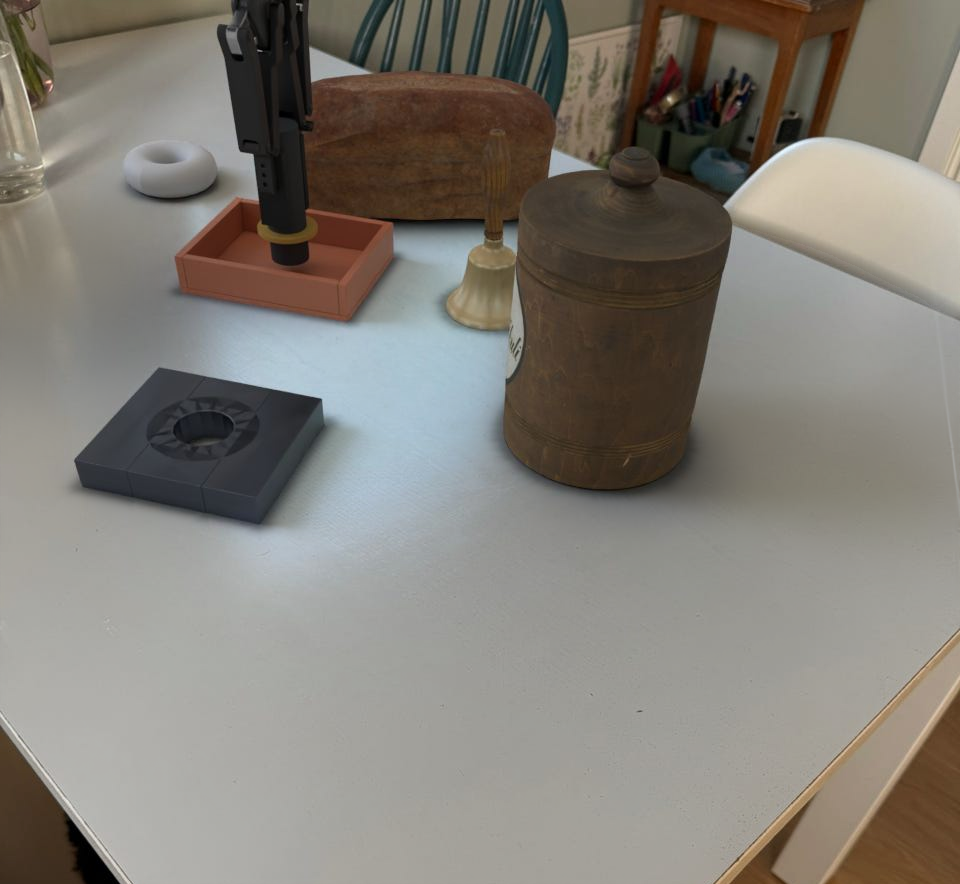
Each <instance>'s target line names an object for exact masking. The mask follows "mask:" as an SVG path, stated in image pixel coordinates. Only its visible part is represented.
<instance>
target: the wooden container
mask: <svg viewBox="0 0 960 884" xmlns="http://www.w3.org/2000/svg"><path fill="white" fill-rule="evenodd" d="M732 233H733V220H732V218H731V215H730V213H729V212H728V210H727V208H725V207H724V206H723V204H722V203H720V202H719V201H718V200H717V199H716V198H714V197H713V196H711V195H709V194H708V193H706V192H704V191H703V190H700V189H698V188H696V187H694V186H692V185H689V184H687V183H684V182H681V181H678V180H675V179H672V178H669V177H665V176H662V175H661V167H660V163H659V161H658V160H657V158H656V157H655V156H654V155H653V154H651V152H650V151H649V150H648V149H645V148H644V147H641V146H628V147H625V148H623V150H622V151H619V152H617V153H615V154H613V156H612V157H611V158H610V160H609V164H608V169H584V170H583V169H582V170H574V171H569V172H565V173H564V172H563V173H560V174H556V175H553V176H550V177H548V178H547V179H545V180H543V181H541V182H539V183H537V184H536V185H534V186H533V187H531V188H530V189H529V190H528V191H527V192H526V194H525V195H524V197H523V199H522V202H521V206H520V214H519V219H518V224H517V242H516V244H517V245H516V250H517V252H516V267H515V278H514V288H513V299H512V310H511V319H510V329H509V330H508V341H507V342H508V343H507V353H506V365H505V366H506V367H505V381H504V383H505V385H504V389H505V390H504V401H503V403H504V405H503V419H502V420H503V421H502V430H503V437H504V441H505V443H506V445H507V446H508V448H509V450H510V452H511V453H512V454H513V455H514V456H515V457H516V458H517V460H519V461H520V462H521V463H523V465H525V466H526V467H528V468H529V469H531V470H532V471H534V472H536V473H538V474H539V475H541V476H544V477H546V478H548V479H550V480H552V481H554V482H558V483H561V484H565V485H570V486H572V487H573V486H574V487H576V488H584V489H593V490H621V489H629V488H635V487H638V486H642V485H645V484H648V483H651V482H654V481H656V480H658V479H660V478H661V477H663V476H665V475H666V474H667V473H669V472H671V471H672V470H673V469H674V468H675V467H676V466H677V465H678V463H679V462H680V461H681V459H682V457H683V454H684V452H685V448H686V444H687V440H688V437H689V432H690V428H691V423H692V418H693V414H694V410H695V406H696V404H697V403H696V402H697V398H698V394H699V390H700V386H701V382H702V377H703V372H704V367H705V362H706V357H707V351H708V346H709V342H710V338H711V337H710V336H711V332H712V327H713V322H714V318H715V314H716V308H717V303H718V297H719V294H720V289H721V284H722V279H723V274H724V272H725V267H726V264H727V261H728V257H729V253H730V247H731V241H732Z"/></svg>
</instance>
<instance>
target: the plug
mask: <svg viewBox="0 0 960 884" xmlns="http://www.w3.org/2000/svg"><path fill="white" fill-rule="evenodd" d="M279 139H280V151H284V152H285V154H286V165H287V175H288V185H289V195H290V206H291V216H292V227H291V228H290V229H286V228H280V227H274V226H268V225H262V223H261V221H260V222H259V223H258V225H257V229H258V234H259V235H260V237H261V238H263V239H264V240H266V241H269V242H270V248H271V256H272V260H273V261H274V262H275V263H277V264H280V265H284V266H296V265H300V264H303V263H305V262H307V261H308V259H309V245H308V240H310V239H312V238H313V237H314V236H315V235H316V234H317V232H318V225H317V223H316V221H315V220H314V219H312V218H311V217H309V216H306V210H305V198H304V187H303V175H302V164H301V152H300V140H299V129H298V124H297V122H296V121H294V120H292V119H288V118H281V117H279Z"/></svg>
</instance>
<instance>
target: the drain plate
mask: <svg viewBox="0 0 960 884" xmlns="http://www.w3.org/2000/svg"><path fill="white" fill-rule="evenodd" d="M324 426H325V417H324V403H323V398H322V397H316V396H311V395H306V394H300V393H294V392H290V391H284V390H279V389H274V388H269V387H265V386H260V385H254V384H250V383H249V384H248V383H242V382H239V381H234V380H233V381H232V380H229V379H228V380H227V379H222V378H217V377H213V376H207V375H203V374H196V373H192V372H186V371H181V370H176V369H171V368H166V367H160V366H159V367H158V368H157V369H156V370H154V372H153V373H152V374H151V375H150V376H149V377H148V378H147V380H145V381H144V383H143V384H141V386H140V387H139V388H138V389H137V390H136V391H135V392H134V394H132V396H131V397H130V398H129V399H128V400H127V401H126V402H125V403H124V404H123V405H122V407H121V408H120V409H119V410H118V411H117V412H116V413H115V414H114V415H113V417H111V418H110V419H109V421H108V422H107V423H106V424H105V425H104V426H103V427H102V428H101V430H100V431H99V432H98V433H97V434H96V435H95V436H94V437H93V438H92V439H91V441H89V443H87V445H86V446H85V447H84V448H83V449H82V450H81V451H80V452H79V453H78V454H77V456H76V457H75V458H73V463H74V465H75V469H76V472H77V475H78V478H79V481H80V484H81V487H82V488H86V489H91V490H96V491H100V492H105V493H110V494H114V495H119V496H124V497H127V498H133V499H137V500H142V501H148V502H152V503H155V504H156V503H158V504H161V505H166V506H171V507H175V508H181V509H185V510H189V511H194V512H198V513H203V514H208V515H213V516H218V517H223V518H227V519H231V520H237V521H242V522H245V523H246V522H247V523H251V524H256V525H260V524H261V523H262V522H263V520H264V518H265V517H266V515H267V514H268V512H269V511H270V509H271V508H272V506H273V505H274V503H275V501H276V500H277V498H278V497H279V495H280V494H281V492H282V490H284V487H286V485H287V483H288V482H289V480H290V479H291V477H292V475H293V474H294V472H295V471H296V469H297V467H299V465H300V463H301V461H302V460H303V458H304V457H305V455H306V454H307V452H308V450H309V449H310V448H311V447H312V444H313V443H314V441H315V440H316V438H317V437H318V436H319V434H320V432H321V431H322V429H323V428H324ZM204 438H218V439H219V438H220V439H222V440H221V441H219V442H215V443H210V444H200V445H198V444H197V445H194V444H190V443H192V442H193V441H196V440H197V441H198V440H201V439H204Z"/></svg>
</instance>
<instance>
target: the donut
mask: <svg viewBox="0 0 960 884" xmlns="http://www.w3.org/2000/svg"><path fill="white" fill-rule="evenodd" d="M122 171H123V176H124V178H125V180H126V182H127V183H128V185H130V186H131V187H132V188H133V189H134V190H136V191H137V192H139V193H142V194H144V195H146V196H150V197H155V198H161V199H175V198H176V199H179V198H185V197H189V196H194V195H196V194H199V193H202V192H203V191H206V190H207V189H209V187H210V186H211V185H212V184H214V182H215V179H216V177H217V174H218V165H217V162H216V160H215V157H214V156H213V154H212V152H210V151H209V150H208V149H207V148H205V147H204V146H202V145H200V144H197V143H195V142H192V141H188V140H182V139H158V140H152V141H148V142H144V143H142V144H140V145H137V146H136V147H134V148H133V149H131V150H129V152H128V153H127V154H126V156H125V158H124V159H123V162H122Z"/></svg>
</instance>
